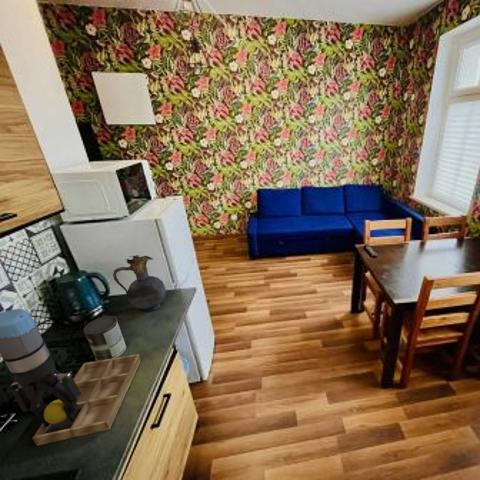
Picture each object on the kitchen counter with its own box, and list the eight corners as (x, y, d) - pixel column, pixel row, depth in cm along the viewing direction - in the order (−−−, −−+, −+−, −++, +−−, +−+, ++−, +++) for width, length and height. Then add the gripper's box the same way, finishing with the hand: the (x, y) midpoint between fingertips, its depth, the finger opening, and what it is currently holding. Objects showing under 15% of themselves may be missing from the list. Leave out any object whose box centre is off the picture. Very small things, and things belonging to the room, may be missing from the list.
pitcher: (167, 310, 132) (153, 256, 121) (122, 319, 126) (102, 263, 114) (170, 298, 142) (157, 247, 130) (128, 306, 135) (110, 253, 124)
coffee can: (96, 366, 101) (84, 338, 96) (94, 351, 108) (82, 323, 102) (128, 352, 107) (118, 324, 102) (124, 338, 114) (114, 312, 109)
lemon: (73, 423, 79) (63, 404, 76) (47, 434, 77) (37, 415, 73) (75, 408, 84) (66, 390, 81) (51, 418, 81) (41, 399, 78)
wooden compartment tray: (36, 445, 76) (32, 438, 75) (86, 369, 100) (83, 363, 98) (109, 429, 80) (106, 422, 79) (140, 360, 104) (138, 353, 103)
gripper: (79, 346, 77) (103, 401, 86) (-1, 358, 72) (33, 415, 81) (64, 367, 70) (91, 424, 79) (-26, 381, 66) (14, 440, 75)
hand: (62, 419), depth 80 cm, fingers closed on lemon, 5 cm apart
